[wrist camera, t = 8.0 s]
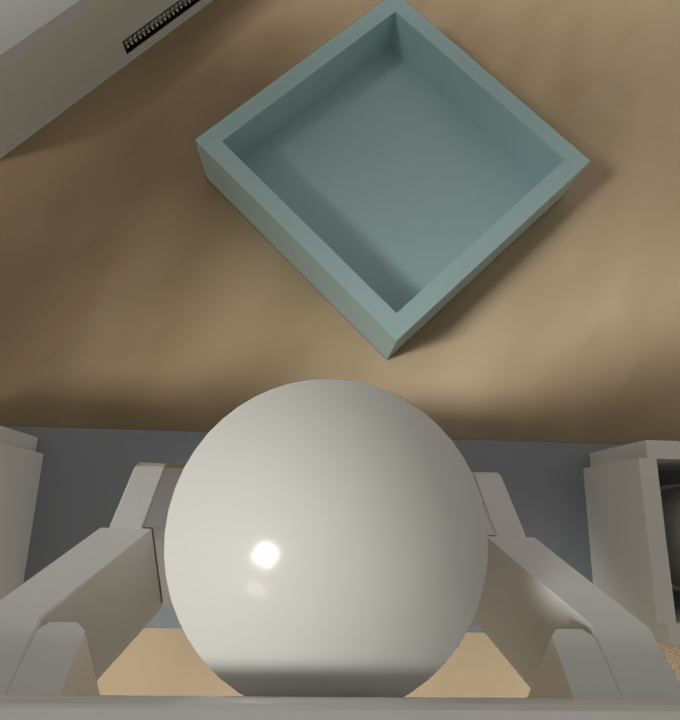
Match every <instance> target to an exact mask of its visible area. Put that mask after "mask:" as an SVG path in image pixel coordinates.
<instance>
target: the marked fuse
mask: <svg viewBox="0 0 680 720" xmlns="http://www.w3.org/2000/svg"><path fill="white" fill-rule="evenodd" d="M164 561H165V572H166V580H167V584H168V589H169V593H170V598H171V601H172V604H173V607H174V609H175V612H176V615H177V618H178V620H179V623H180V625H181V626H182V628H183V630H184V632H185V634H186V636H187V638H188V640H189V641H190V643H191V644H192V646H193V647H194V649H195V650H196V651H197V653H198V654H199V656H200V657H201V658H202V660H203V661H204V662H205V663H206V664H207V665H208V666H209V667H210V668H211V669H212V670H213V671H214V673H215V674H216V675H217V676H218V677H219V678H220V679H222V680H223V681H224V682H226V683H227V684H228V685H229V686H231V687H232V688H233V689H235V690H236V691H237V692H239V693H240V694H242V695H244V696H269V697H404V696H406V695H408V694H410V693H411V692H412V691H414V690H415V689H416V688H418V687H419V686H420V685H422V684H423V683H424V682H426V681H427V680H428V679H429V678H430V677H431V676H433V675H434V674H435V673H436V672H437V671H438V670H439V669H440V668H441V667H442V666H443V665H444V664H445V662H446V661H447V660H448V658H449V657H450V656H451V655H452V653H453V652H454V651H455V649H456V648H457V647H458V645H459V644H460V642H461V640H462V639H463V637H464V635H465V633H466V632H467V630H468V628H469V627H470V624H471V622H472V620H473V617H474V615H475V612H476V610H477V608H478V605H479V602H480V598H481V594H482V591H483V587H484V583H485V576H486V569H487V562H488V535H487V525H486V517H485V513H484V508H483V504H482V500H481V496H480V493H479V490H478V488H477V485H476V482H475V479H474V477H473V475H472V473H471V471H470V469H469V467H468V465H467V463H466V461H465V459H464V458H463V456H462V455H461V453H460V452H459V450H458V449H457V447H456V446H455V444H454V443H453V441H452V440H451V439H450V438H449V437H448V436H447V434H446V433H445V432H444V431H443V430H442V429H441V427H440V426H439V425H437V424H436V423H435V422H434V421H433V420H432V419H431V418H430V417H429V416H427V415H426V414H425V413H424V412H423V411H421V410H420V409H418V408H417V407H415V406H414V405H412V404H411V403H410V402H408V401H406V400H404V399H402V398H401V397H399V396H397V395H395V394H393V393H391V392H389V391H386V390H383V389H380V388H378V387H375V386H372V385H368V384H364V383H360V382H355V381H349V380H339V379H313V380H306V381H300V382H294V383H290V384H287V385H283V386H280V387H276V388H273V389H271V390H269V391H267V392H264V393H262V394H260V395H257V396H255V397H254V398H252V399H250V400H248V401H247V402H245V403H243V404H242V405H240V406H238V407H237V408H236V409H235V410H233V411H232V412H231V413H229V414H228V415H227V416H226V417H224V418H223V419H222V420H221V421H220V422H219V423H218V424H217V425H216V426H215V427H214V428H213V429H212V430H211V431H210V432H209V433H208V434H207V435H206V436H205V438H204V439H203V440H202V441H201V443H200V444H199V445H198V447H197V448H196V449H195V450H194V452H193V454H192V455H191V457H190V459H189V461H188V462H187V464H186V466H185V467H184V469H183V471H182V473H181V476H180V478H179V480H178V483H177V485H176V487H175V489H174V493H173V496H172V500H171V503H170V506H169V510H168V515H167V522H166V528H165V539H164Z"/></svg>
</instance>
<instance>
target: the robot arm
mask: <svg viewBox="0 0 680 720" xmlns="http://www.w3.org/2000/svg"><path fill="white" fill-rule="evenodd" d="M185 466H186V464H173V463H168V464H163V463H143V462H140V463H139V464H138V465H137V466H136V467H135V468H134V470H133V472H132V474H131V477H130V479H129V481H128V484H127V486H126V489H125V491H124V493H123V496H122V498H121V501H120V503H119V505H118V508H117V510H116V512H115V515H114V517H113V520H112V522H111V524H110V527H109V528H99V529H98V530H97V531H95V532H94V533H92V534H91V535H90V536H88V537H87V538H86V539H84V540H83V541H81V542H80V543H79V544H77V545H76V546H75V547H73V548H72V549H70V550H69V551H68V552H66V553H65V554H63V555H62V556H61V557H59V558H58V559H57V560H55V561H54V562H52V563H51V564H50V565H48V566H47V567H46V568H44V569H43V570H41V571H40V572H39V573H37V574H36V575H34V576H33V577H32V578H30V579H29V580H28V581H26V582H25V583H23V584H22V585H21V586H19V587H18V588H16V589H15V590H14V591H12V592H11V593H10V594H8V595H7V596H5V597H4V598H3V599H1V600H0V720H680V684H679V682H678V680H677V678H676V676H675V674H674V673H673V671H672V669H671V667H670V665H669V663H668V662H667V660H666V658H665V656H664V654H663V652H662V651H661V649H660V647H659V645H658V643H657V641H656V639H655V638H654V636H653V634H652V632H651V630H650V628H648V627H647V626H646V625H645V624H643V623H642V622H641V621H639V620H638V619H637V618H636V617H634V616H633V615H632V614H631V613H629V612H628V611H627V610H626V609H624V608H623V607H622V606H620V605H619V604H618V603H617V602H615V601H614V600H613V599H612V598H610V597H609V596H608V595H607V594H605V593H604V592H603V591H602V590H600V589H599V588H598V587H596V586H595V585H594V584H593V583H591V582H590V581H589V580H588V579H586V578H585V577H584V576H583V575H581V574H580V573H579V572H577V571H576V570H575V569H574V568H572V567H571V566H570V565H569V564H567V563H566V562H565V561H564V560H562V559H561V558H560V557H558V556H557V555H556V554H555V553H553V552H552V551H551V550H550V549H548V548H547V547H546V546H545V545H543V544H542V543H541V542H540V541H538V540H537V539H536V538H534V537H526V535H525V532H524V530H523V528H522V525H521V523H520V520H519V518H518V515H517V513H516V511H515V508H514V506H513V503H512V501H511V498H510V496H509V494H508V491H507V489H506V486H505V484H504V482H503V479H502V477H501V475H500V474H498V473H492V472H471V473H472V475H473V477H474V479H475V482H476V485H477V488H478V490H479V493H480V496H481V500H482V504H483V508H484V513H485V517H486V525H487V535H488V562H487V569H486V576H485V583H484V587H483V591H482V594H481V598H480V602H479V605H478V608H477V610H476V612H475V615H474V617H473V619H474V620H475V621H476V623H477V624H478V625H479V626H480V627H481V629H482V630H483V631H484V632H485V633H486V635H487V636H488V637H489V638H490V639H491V641H492V642H493V643H494V644H495V646H496V647H497V648H498V649H499V650H500V652H501V653H502V654H503V655H504V656H505V658H506V659H507V660H508V661H509V662H510V664H511V665H512V666H513V667H514V669H515V670H516V671H517V672H518V673H519V675H520V676H521V677H522V678H523V679H524V681H525V682H526V683H527V684H528V686H529V687H530V688H531V690H530V693H529V695H528V698H425V697H269V696H111V695H100V694H99V689H98V685H97V680H98V679H99V678H100V676H101V675H102V674H103V673H104V672H105V671H106V670H107V669H108V667H109V666H110V665H111V664H112V663H113V662H114V661H115V660H116V659H117V657H118V656H119V655H120V654H121V653H122V652H123V651H124V650H125V648H126V647H127V646H128V645H129V644H130V643H131V642H132V641H133V639H134V638H135V637H136V636H137V635H138V634H139V633H140V632H141V630H142V629H143V628H144V627H145V626H146V625H147V624H148V623H149V622H150V620H151V619H152V618H153V617H154V616H155V615H156V614H157V613H158V611H159V610H160V609H161V608H162V605H173V604H172V601H171V598H170V593H169V589H168V584H167V580H166V572H165V561H164V539H165V528H166V522H167V515H168V510H169V506H170V503H171V500H172V496H173V493H174V489H175V487H176V485H177V483H178V480H179V478H180V476H181V473H182V471H183V469H184V467H185Z"/></svg>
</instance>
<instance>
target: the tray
mask: <svg viewBox="0 0 680 720" xmlns="http://www.w3.org/2000/svg"><path fill="white" fill-rule="evenodd" d="M195 143H196V146H197V149H198V153H199V156H200V160H201V163H202V166H203V170H204V173H205V177H206V178H207V179H208V180H209V181H210V182H211V183H212V184H213V185H214V186H215V187H216V188H217V189H218V190H219V191H220V192H221V193H222V194H223V195H224V196H225V197H226V198H227V199H228V200H229V201H230V202H231V203H232V204H233V205H234V206H235V207H236V208H237V209H238V210H239V211H240V212H241V213H242V214H243V215H244V216H245V217H246V218H247V219H248V220H249V221H250V222H251V223H252V224H253V225H254V226H255V227H256V228H257V230H258V231H259V232H260V233H261V234H262V235H263V236H264V237H265V238H266V239H267V240H268V241H269V242H270V243H271V244H272V245H273V246H274V247H275V248H276V249H277V250H278V251H279V252H280V253H281V254H282V255H283V256H284V257H285V258H286V259H287V260H288V261H289V262H290V263H291V264H292V265H293V266H294V267H295V268H296V269H297V270H298V271H299V272H300V273H301V274H302V275H303V276H304V277H305V278H306V279H307V280H308V281H309V282H310V283H311V284H312V285H313V286H314V287H315V288H316V289H317V290H318V291H319V292H320V293H321V294H322V295H323V296H324V297H325V298H326V299H327V300H328V301H329V302H330V303H331V304H332V305H333V306H334V307H335V308H336V309H337V310H338V311H339V312H340V313H341V314H342V315H343V316H344V317H345V318H346V319H347V320H348V321H349V322H350V323H351V324H352V325H353V326H354V327H355V328H356V329H357V330H358V331H359V332H360V333H361V334H362V335H363V336H364V337H365V338H366V339H367V340H368V341H369V342H370V343H371V344H372V345H373V346H374V347H375V348H376V349H377V350H378V351H379V352H380V353H381V354H382V355H383V356H384V357H385V358H386V359H388V358H389V357H391V356H392V355H393V354H394V353H395V352H396V351H397V350H398V349H399V348H400V347H401V346H402V345H403V344H404V343H406V342H407V341H408V340H409V339H410V338H411V337H412V336H413V335H414V334H415V333H416V332H417V331H418V330H419V329H421V328H422V327H423V326H424V325H425V324H426V323H427V322H428V321H429V320H430V319H431V318H432V317H433V316H434V315H436V314H437V313H438V312H439V311H440V310H441V309H442V308H443V307H444V306H445V305H446V304H447V303H448V302H449V301H451V300H452V299H453V298H454V297H455V296H456V295H457V294H458V293H459V292H460V291H461V290H462V289H463V288H465V287H466V286H467V285H468V284H469V283H470V282H471V281H472V280H473V279H474V278H475V277H476V276H477V275H478V274H480V273H481V272H482V271H483V270H484V269H485V268H486V267H487V266H488V265H489V264H490V263H491V262H492V261H493V260H495V259H496V258H497V257H498V256H499V255H500V254H501V253H502V252H503V251H504V250H505V249H506V248H507V247H508V246H510V245H511V244H512V243H513V242H514V241H515V240H516V239H517V238H518V237H519V236H520V235H521V234H522V233H523V232H525V231H526V230H527V229H528V228H529V227H530V226H531V225H532V224H533V223H534V222H535V221H536V220H537V219H538V218H540V217H541V216H542V215H543V214H544V213H545V212H546V211H547V210H548V209H549V208H550V207H551V206H552V205H553V204H555V203H556V202H557V201H558V200H559V199H560V198H561V197H562V196H563V195H564V194H565V193H566V191H567V190H568V189H569V187H570V186H571V185H572V184H573V182H574V181H575V180H576V179H577V177H578V176H579V175H580V174H581V172H582V171H583V170H584V169H585V167H586V166H587V165H588V163H589V162H590V160H589V159H588V158H587V157H586V156H584V155H583V154H582V153H581V152H580V151H579V150H578V149H576V148H575V147H574V146H573V145H572V144H571V143H569V142H568V141H567V140H566V139H565V138H564V137H563V136H561V135H560V134H559V133H558V132H557V131H556V130H554V129H553V128H552V127H551V126H550V125H549V124H547V123H546V122H545V121H544V120H543V119H542V118H541V117H539V116H538V115H537V114H536V113H535V112H534V111H532V110H531V109H530V108H529V107H528V106H527V105H526V104H524V103H523V102H522V101H521V100H520V99H519V98H517V97H516V96H515V95H514V94H513V93H512V92H510V91H509V90H508V89H507V88H506V87H505V86H504V85H502V84H501V83H500V82H499V81H498V80H497V79H495V78H494V77H493V76H492V75H491V74H490V73H489V72H487V71H486V70H485V69H484V68H483V67H482V66H480V65H479V64H478V63H477V62H476V61H475V60H473V59H472V58H471V57H470V56H469V55H468V54H467V53H465V52H464V51H463V50H462V49H461V48H460V47H458V46H457V45H456V44H455V43H454V42H453V41H452V40H450V39H449V38H448V37H447V36H446V35H445V34H443V33H442V32H441V31H440V30H439V29H438V28H436V27H435V26H434V25H433V24H432V23H431V22H430V21H428V20H427V19H426V18H425V17H424V16H423V15H421V14H420V13H419V12H418V11H417V10H416V9H415V8H413V7H412V6H411V5H410V4H409V3H408V2H406V1H405V0H383V1H382V2H381V3H379V4H378V5H377V6H375V7H374V8H373V9H371V10H370V11H369V12H367V13H366V14H364V15H363V16H362V17H360V18H359V19H358V20H356V21H355V22H354V23H352V24H351V25H350V26H348V27H347V28H345V29H344V30H343V31H341V32H340V33H339V34H337V35H336V36H335V37H333V38H332V39H331V40H329V41H328V42H326V43H325V44H324V45H322V46H321V47H320V48H318V49H317V50H316V51H314V52H313V53H312V54H310V55H309V56H308V57H306V58H305V59H303V60H302V61H301V62H299V63H298V64H297V65H295V66H294V67H293V68H291V69H290V70H289V71H287V72H286V73H284V74H283V75H282V76H280V77H279V78H278V79H276V80H275V81H274V82H272V83H271V84H270V85H268V86H267V87H265V88H264V89H263V90H261V91H260V92H259V93H257V94H256V95H255V96H253V97H252V98H251V99H249V100H248V101H246V102H245V103H244V104H242V105H241V106H240V107H238V108H237V109H236V110H234V111H233V112H232V113H230V114H229V115H228V116H226V117H225V118H223V119H222V120H221V121H219V122H218V123H217V124H215V125H214V126H213V127H211V128H210V129H209V130H207V131H206V132H204V133H203V134H202V135H200V136H199V137H198V138H196V139H195Z"/></svg>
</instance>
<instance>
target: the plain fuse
mask: <svg viewBox="0 0 680 720" xmlns="http://www.w3.org/2000/svg"><path fill="white" fill-rule="evenodd" d="M660 492H661V501H662V509H663V517H664V525H665V534H666V542H667V550H668V558H669V567H670V575H671V583H672V589H674V590H679V591H680V484H673V485H662V486H660Z"/></svg>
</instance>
